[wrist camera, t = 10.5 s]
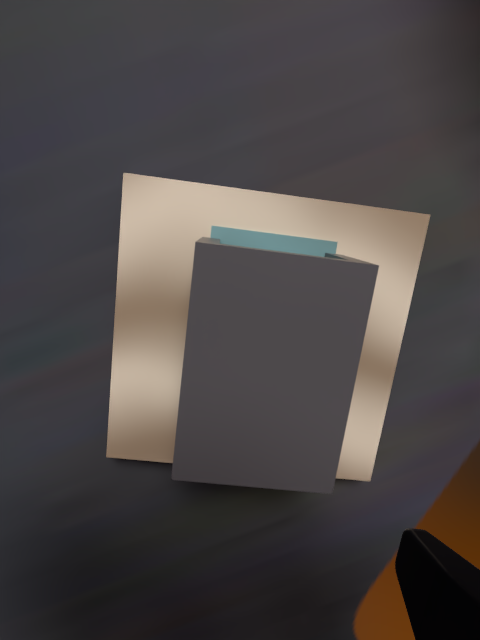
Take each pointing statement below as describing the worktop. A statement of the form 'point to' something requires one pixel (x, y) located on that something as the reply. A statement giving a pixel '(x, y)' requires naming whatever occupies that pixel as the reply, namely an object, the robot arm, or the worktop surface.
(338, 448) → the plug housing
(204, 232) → the pin board
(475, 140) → the worktop surface
